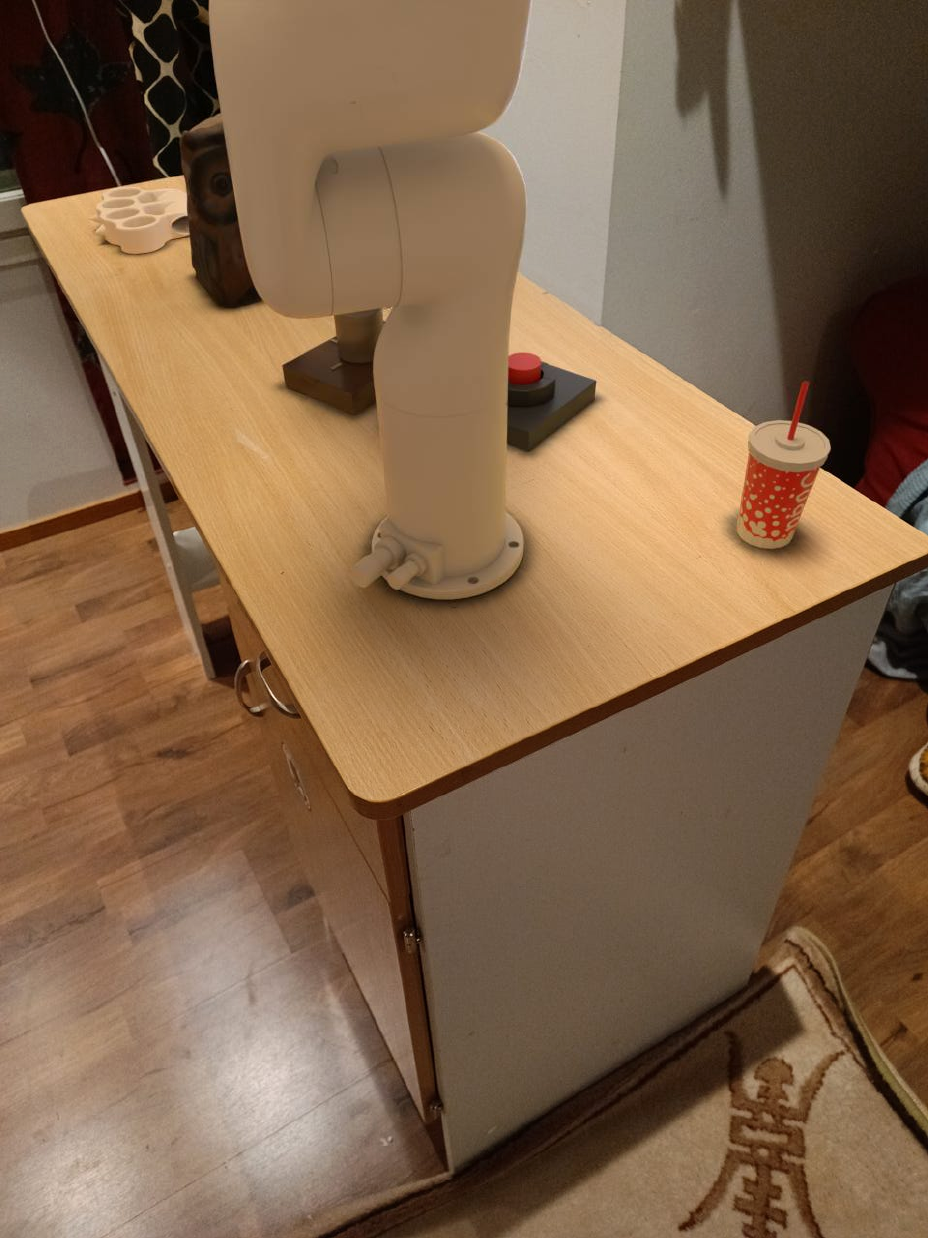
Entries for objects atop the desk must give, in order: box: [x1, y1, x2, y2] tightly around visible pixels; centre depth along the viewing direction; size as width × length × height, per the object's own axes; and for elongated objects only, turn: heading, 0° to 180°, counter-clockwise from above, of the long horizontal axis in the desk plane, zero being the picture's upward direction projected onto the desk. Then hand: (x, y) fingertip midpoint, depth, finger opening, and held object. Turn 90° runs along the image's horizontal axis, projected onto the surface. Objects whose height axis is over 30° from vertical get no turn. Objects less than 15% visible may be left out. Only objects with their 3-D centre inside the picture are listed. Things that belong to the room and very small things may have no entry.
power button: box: [508, 351, 542, 385], centre depth 86 cm, size 4×4×2 cm
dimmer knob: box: [333, 308, 384, 363], centre depth 91 cm, size 5×5×5 cm
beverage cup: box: [736, 380, 832, 550], centre depth 69 cm, size 6×6×14 cm
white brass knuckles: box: [88, 186, 190, 255], centre depth 125 cm, size 3×18×15 cm
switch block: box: [507, 360, 597, 453], centre depth 88 cm, size 12×10×4 cm
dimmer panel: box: [281, 320, 386, 416], centre depth 94 cm, size 14×10×3 cm
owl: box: [179, 112, 263, 309], centre depth 104 cm, size 13×13×20 cm
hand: (355, 293), depth 89 cm, fingers open, 9 cm apart
